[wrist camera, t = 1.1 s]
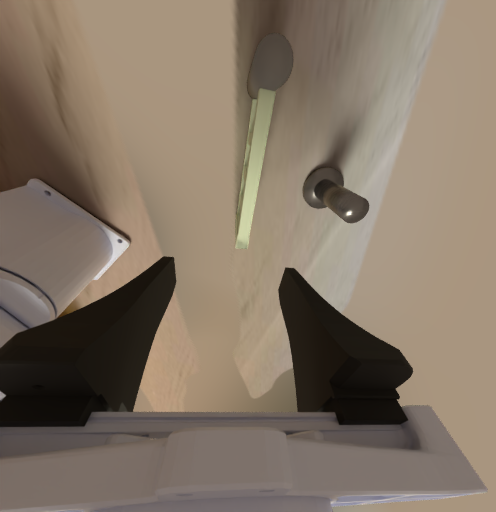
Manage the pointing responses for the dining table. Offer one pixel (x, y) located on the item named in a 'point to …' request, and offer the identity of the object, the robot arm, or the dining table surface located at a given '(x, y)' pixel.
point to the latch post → (334, 195)
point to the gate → (260, 122)
